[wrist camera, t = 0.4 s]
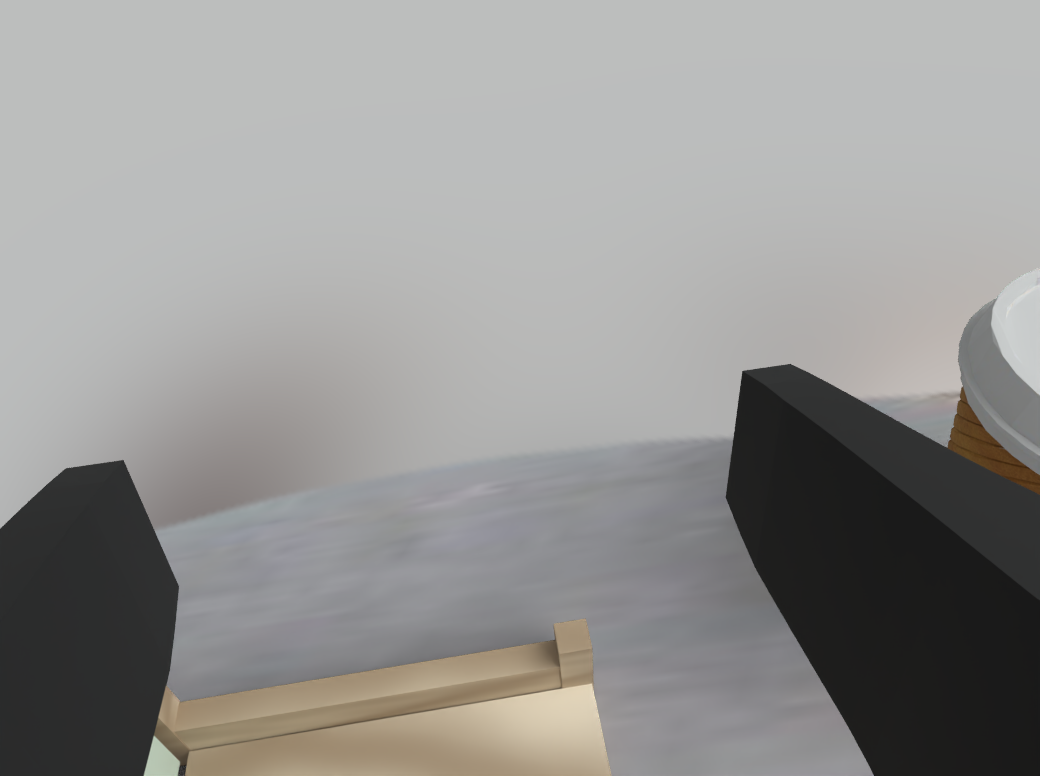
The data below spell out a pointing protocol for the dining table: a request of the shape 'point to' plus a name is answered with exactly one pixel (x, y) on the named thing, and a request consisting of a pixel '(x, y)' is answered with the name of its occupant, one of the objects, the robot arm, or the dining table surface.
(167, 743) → the cart bed
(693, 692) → the dining table surface
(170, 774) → the panel
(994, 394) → the disposable coffee cup
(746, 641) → the dining table surface
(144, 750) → the robot arm
